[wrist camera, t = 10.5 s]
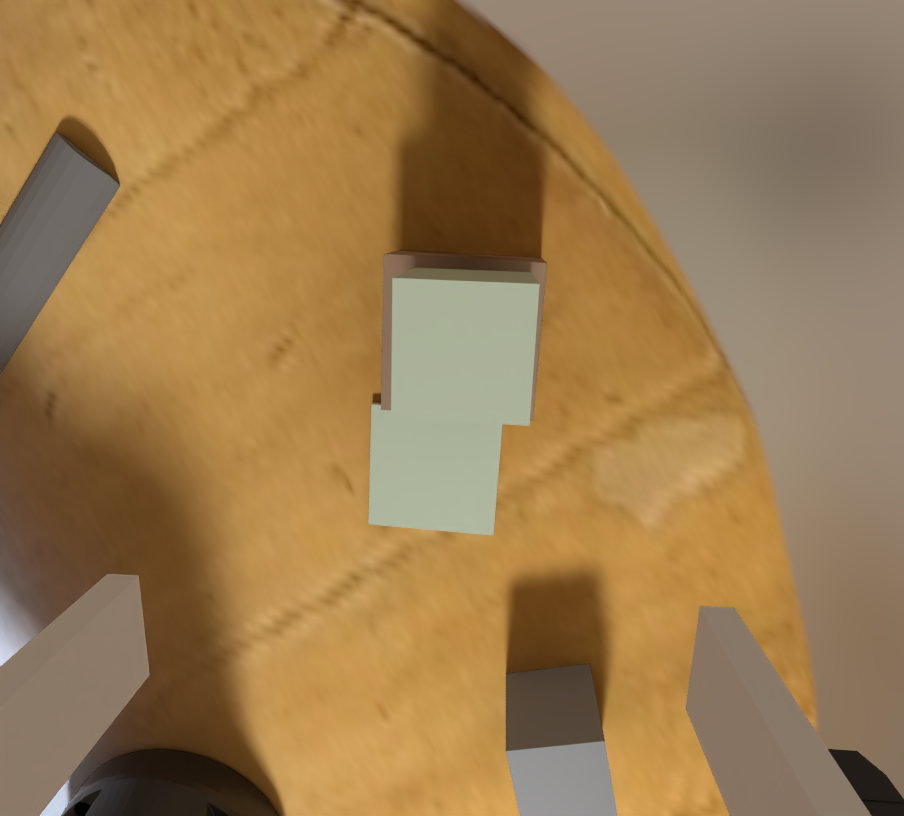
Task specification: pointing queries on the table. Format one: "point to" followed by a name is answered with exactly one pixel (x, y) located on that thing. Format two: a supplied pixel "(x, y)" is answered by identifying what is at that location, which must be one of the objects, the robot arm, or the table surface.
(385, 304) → the walnut base
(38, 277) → the slim gray ramp strip
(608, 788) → the gray block
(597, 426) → the table surface
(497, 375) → the sage block
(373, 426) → the tile
